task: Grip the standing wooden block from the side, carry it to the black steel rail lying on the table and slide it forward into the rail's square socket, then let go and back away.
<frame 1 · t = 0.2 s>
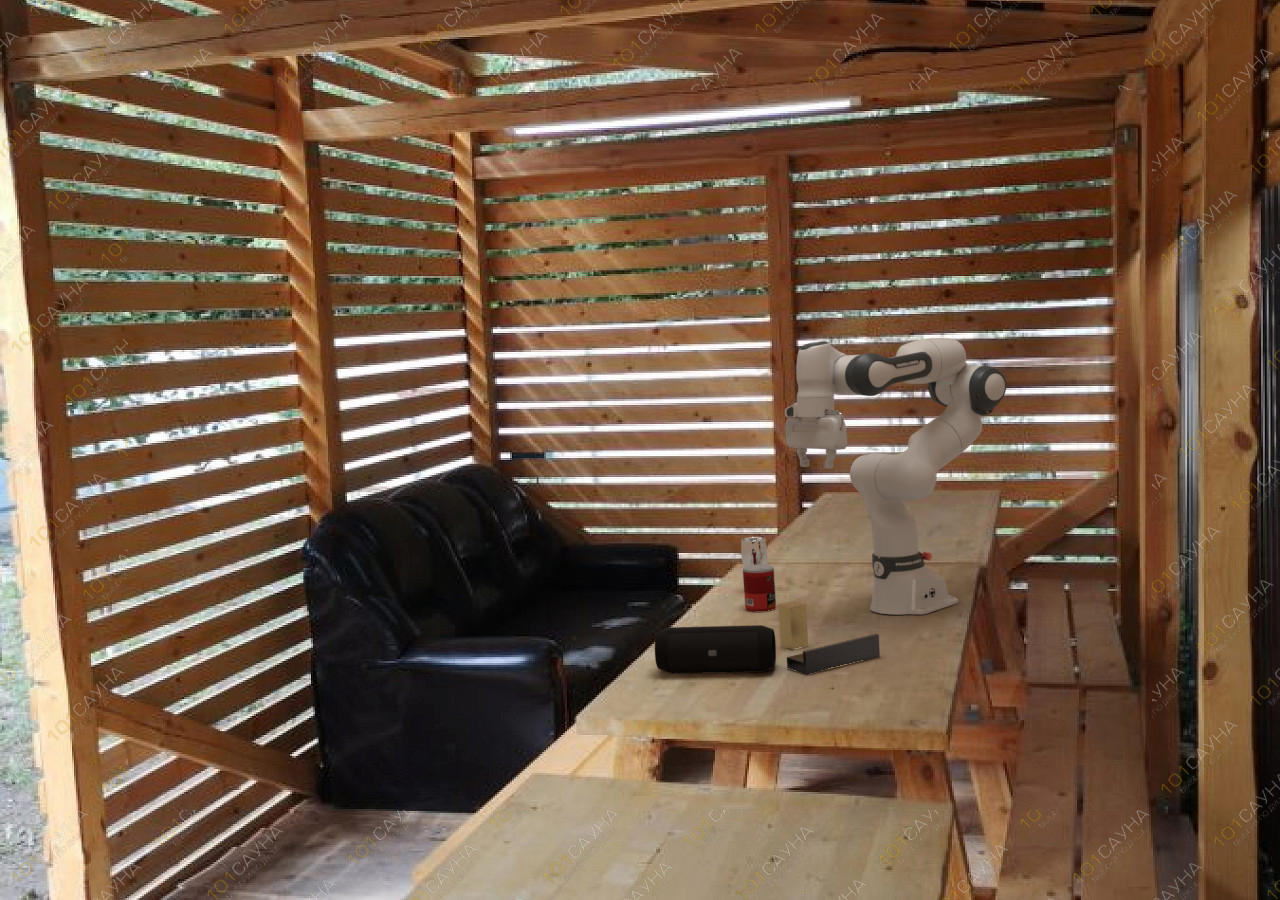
hand: (816, 467, 322), 39 cm above the table, tool pointing down, fingers open, 8 cm apart
wooden block: (794, 646, 310), on the table
canned food: (760, 609, 349), on the table
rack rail: (841, 660, 295), on the table
beer glass: (756, 593, 367), on the table
portable speaker: (717, 672, 294), on the table
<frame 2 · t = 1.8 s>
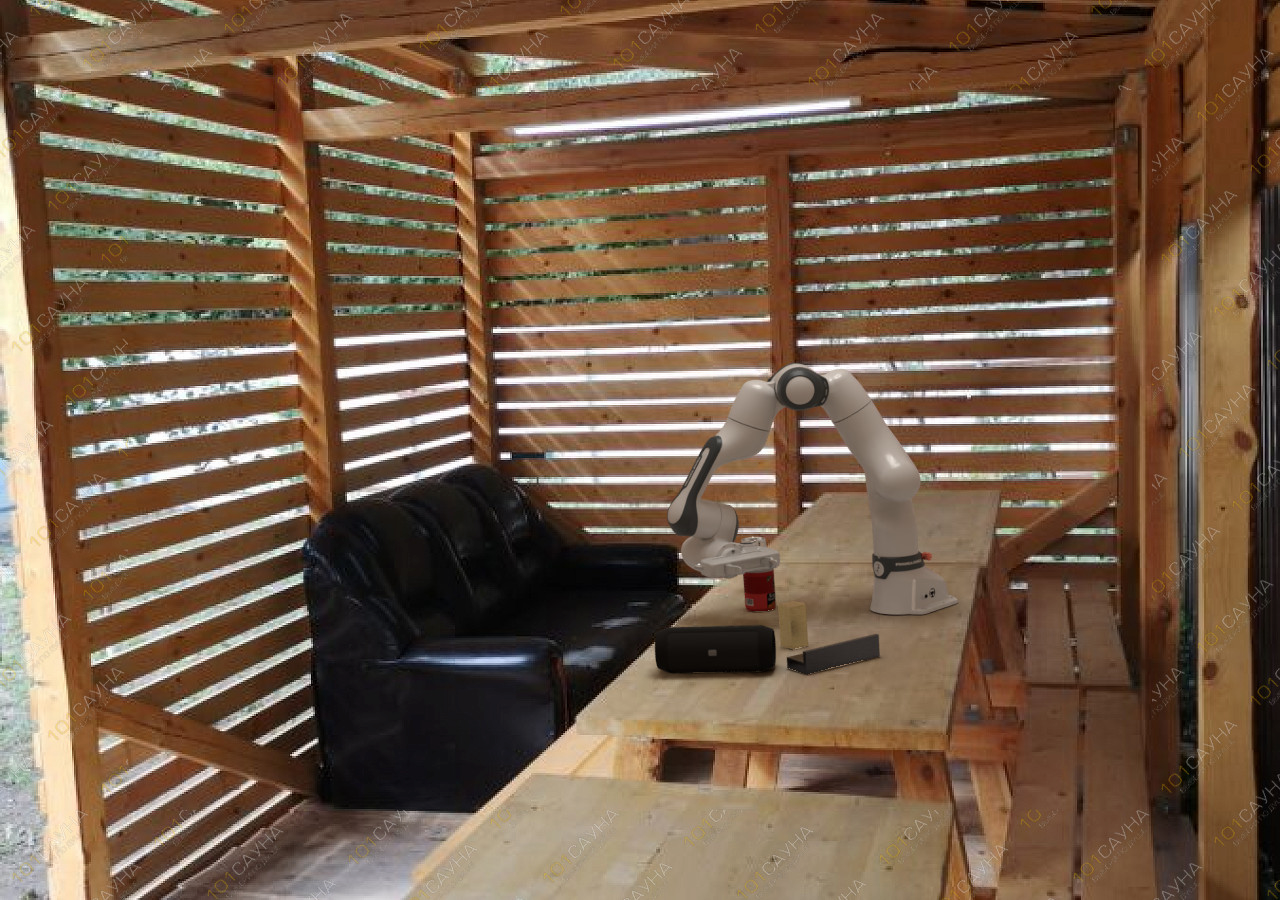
hand: (759, 567, 318), 17 cm above the table, tool horizontal, fingers open, 8 cm apart
nothing on the table moved.
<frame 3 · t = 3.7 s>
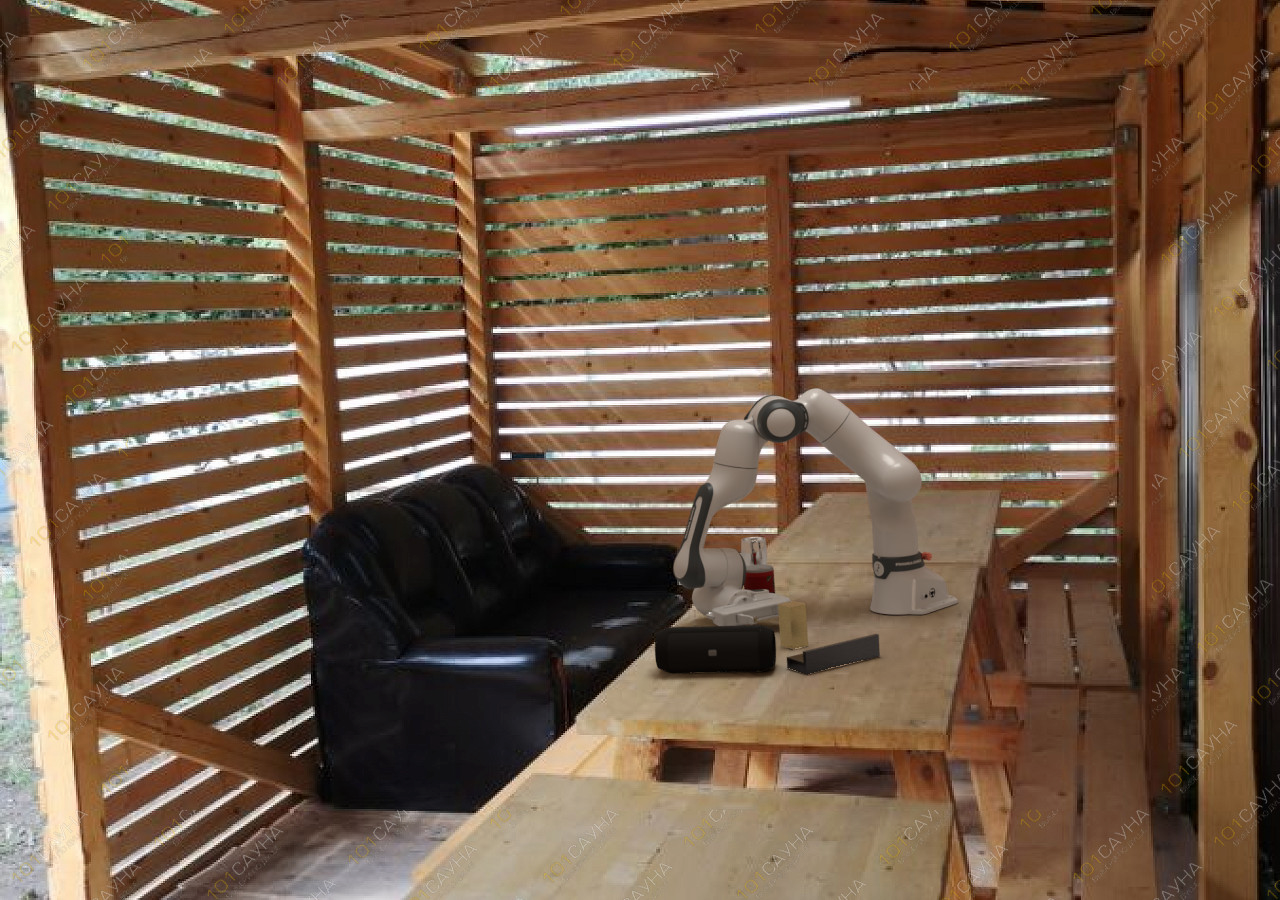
hand: (771, 616, 317), 5 cm above the table, tool horizontal, fingers open, 8 cm apart
nothing on the table moved.
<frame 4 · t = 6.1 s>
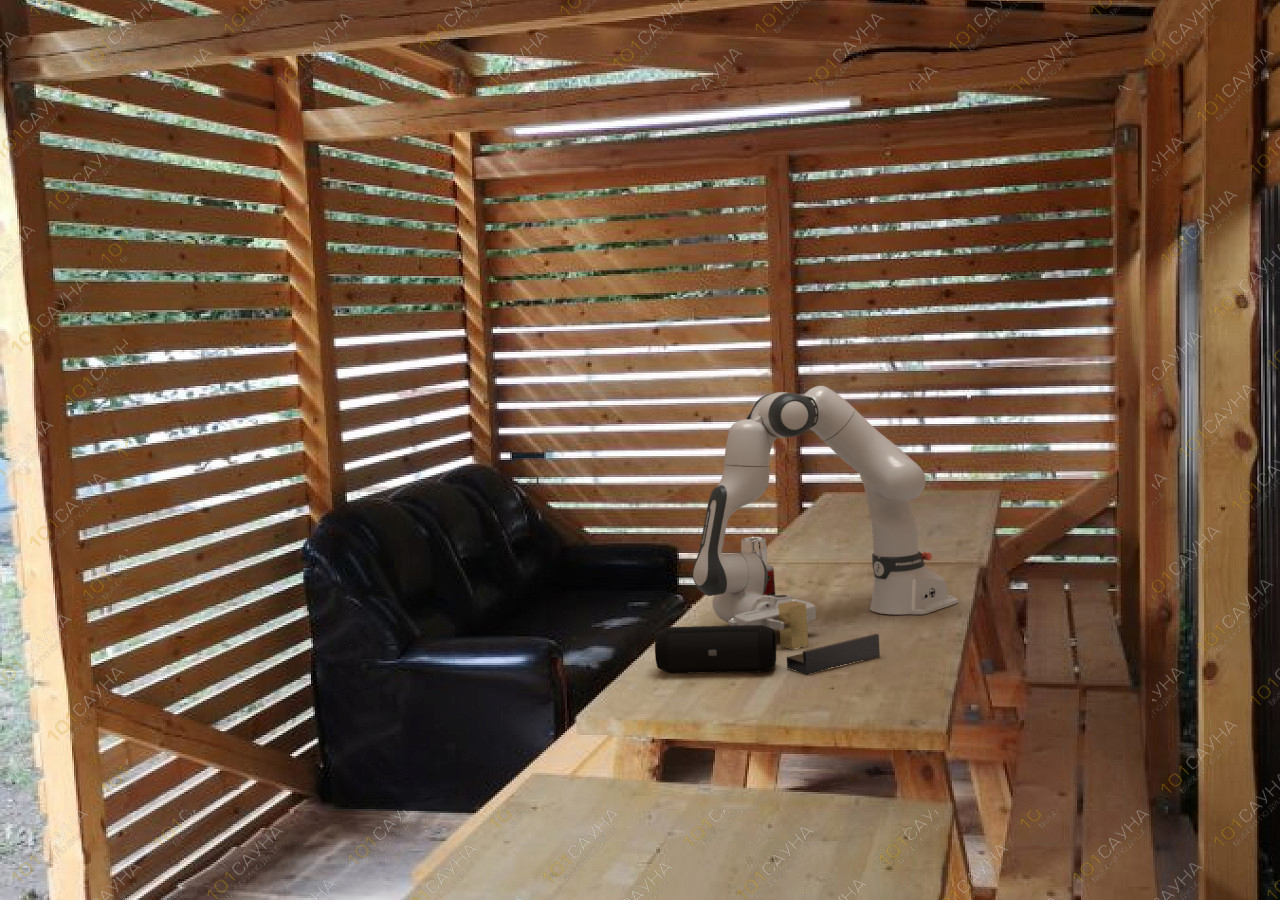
hand: (795, 623, 308), 6 cm above the table, tool horizontal, fingers closed on wooden block, 4 cm apart
wooden block: (794, 646, 310), on the table, touching gripper
everything else where it was.
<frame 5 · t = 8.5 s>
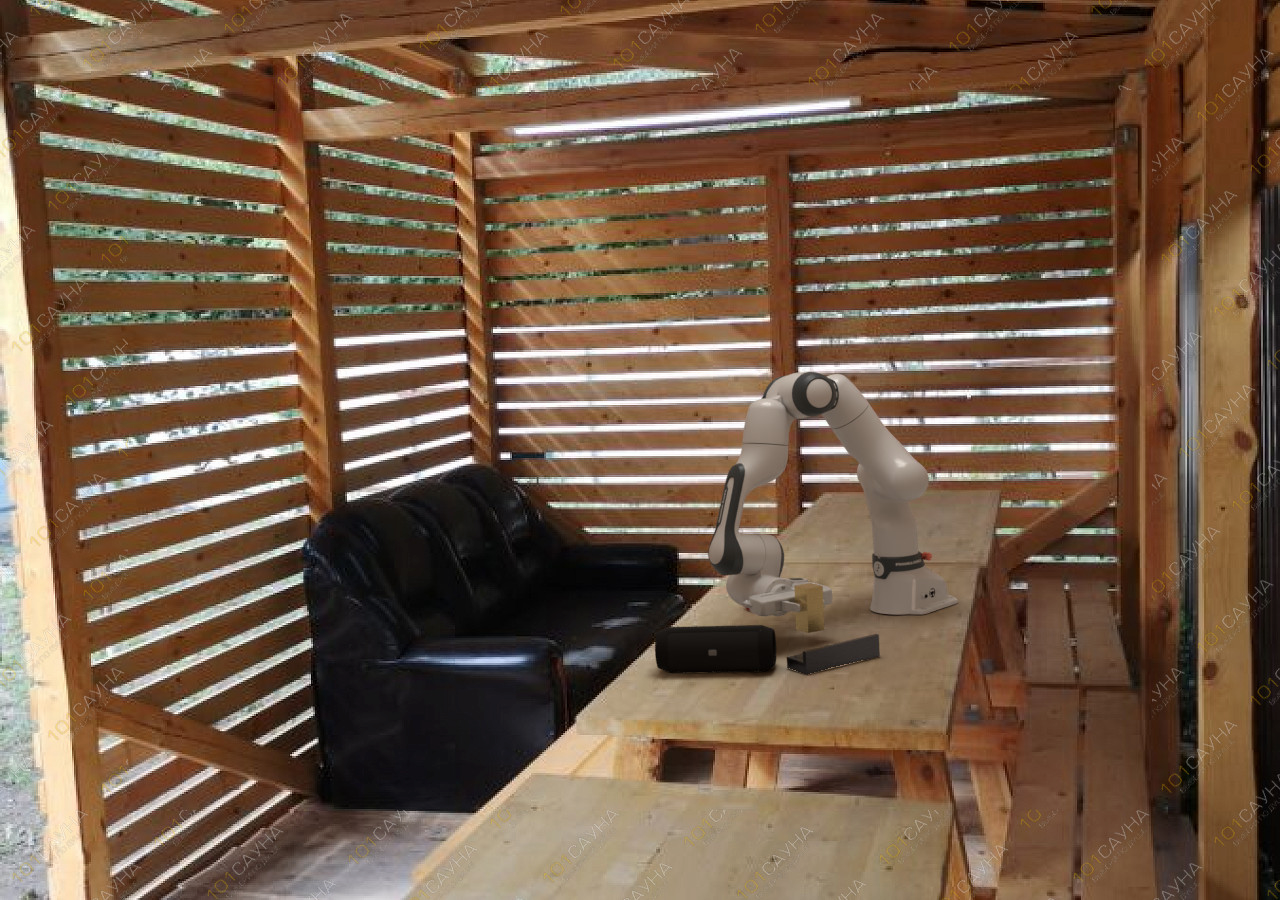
hand: (811, 606, 301), 11 cm above the table, tool horizontal, fingers closed on wooden block, 4 cm apart
wooden block: (810, 629, 302), point 5 cm above the table, touching gripper
everything else where it was.
when the fingers open (7 cm above the table, at t = 11.4 s): wooden block drops 1 cm, resting in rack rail.
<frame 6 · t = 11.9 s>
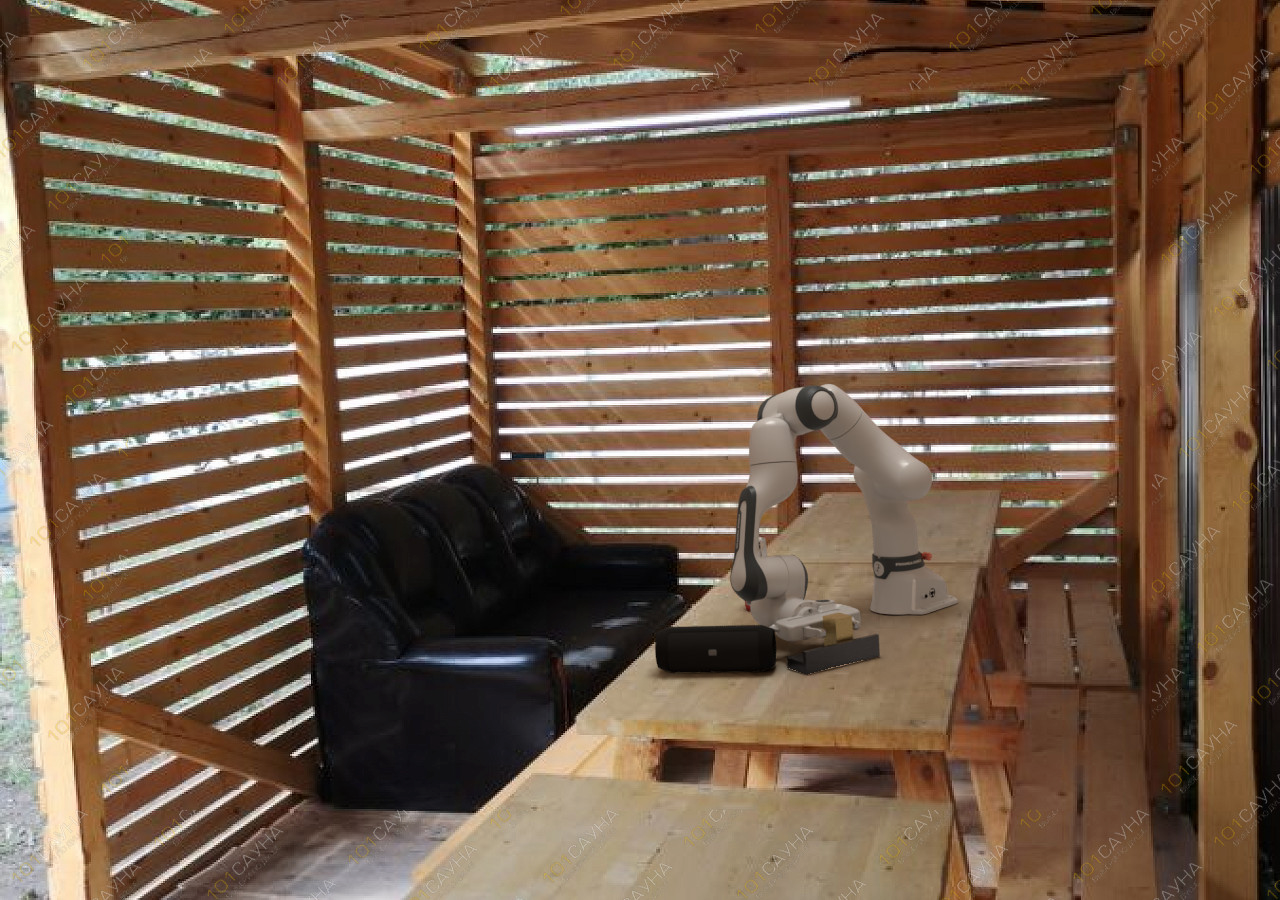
hand: (840, 630, 294), 7 cm above the table, tool horizontal, fingers open, 8 cm apart
wooden block: (839, 660, 295), resting in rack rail
everything else where it was.
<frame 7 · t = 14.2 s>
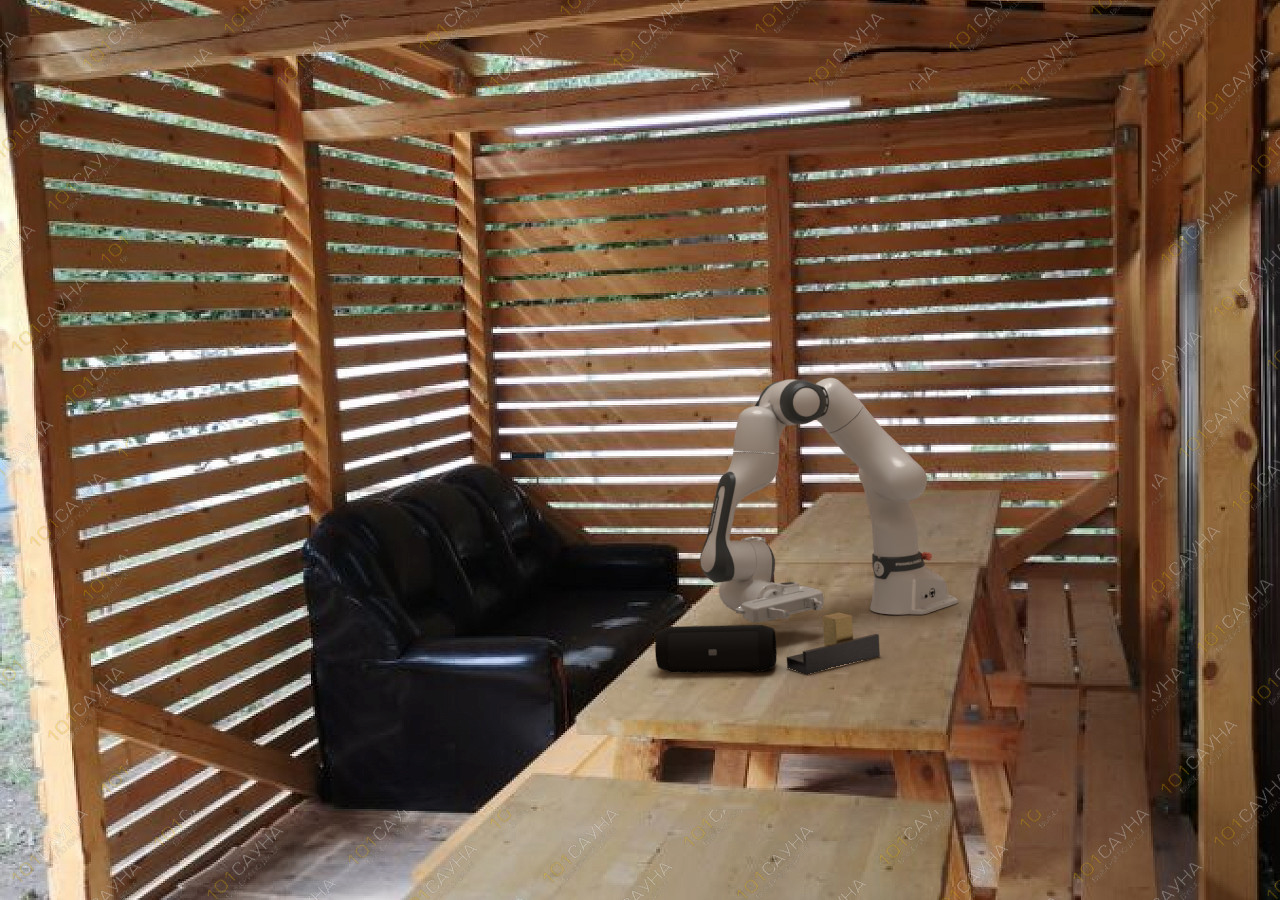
hand: (803, 610, 306), 9 cm above the table, tool horizontal, fingers open, 8 cm apart
nothing on the table moved.
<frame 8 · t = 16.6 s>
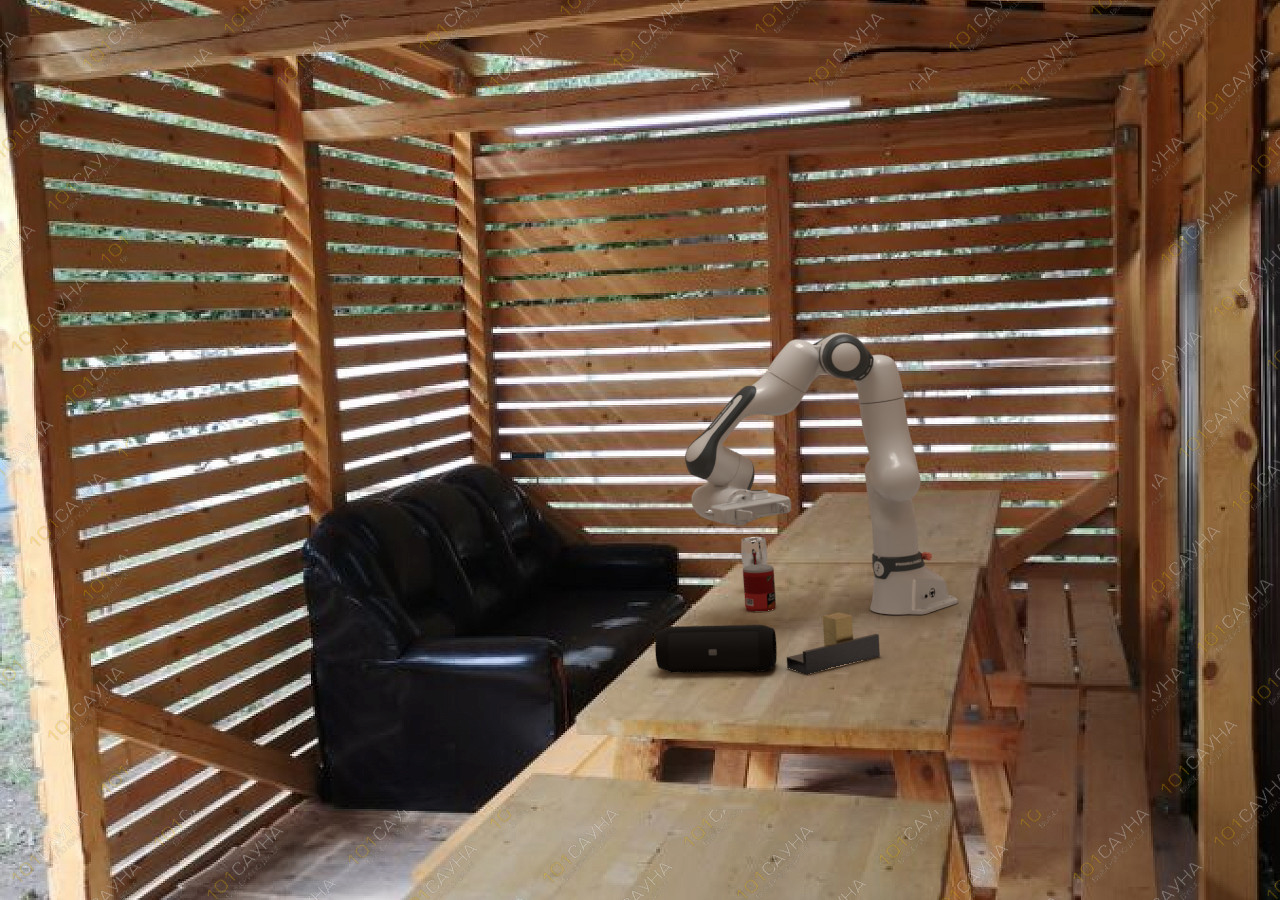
hand: (770, 512, 315), 30 cm above the table, tool horizontal, fingers open, 8 cm apart
nothing on the table moved.
at the end: wooden block 0.0 cm off-centre on the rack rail, point 0.0 cm above the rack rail's base; wooden block tilted 0°; the gripper is holding nothing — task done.
